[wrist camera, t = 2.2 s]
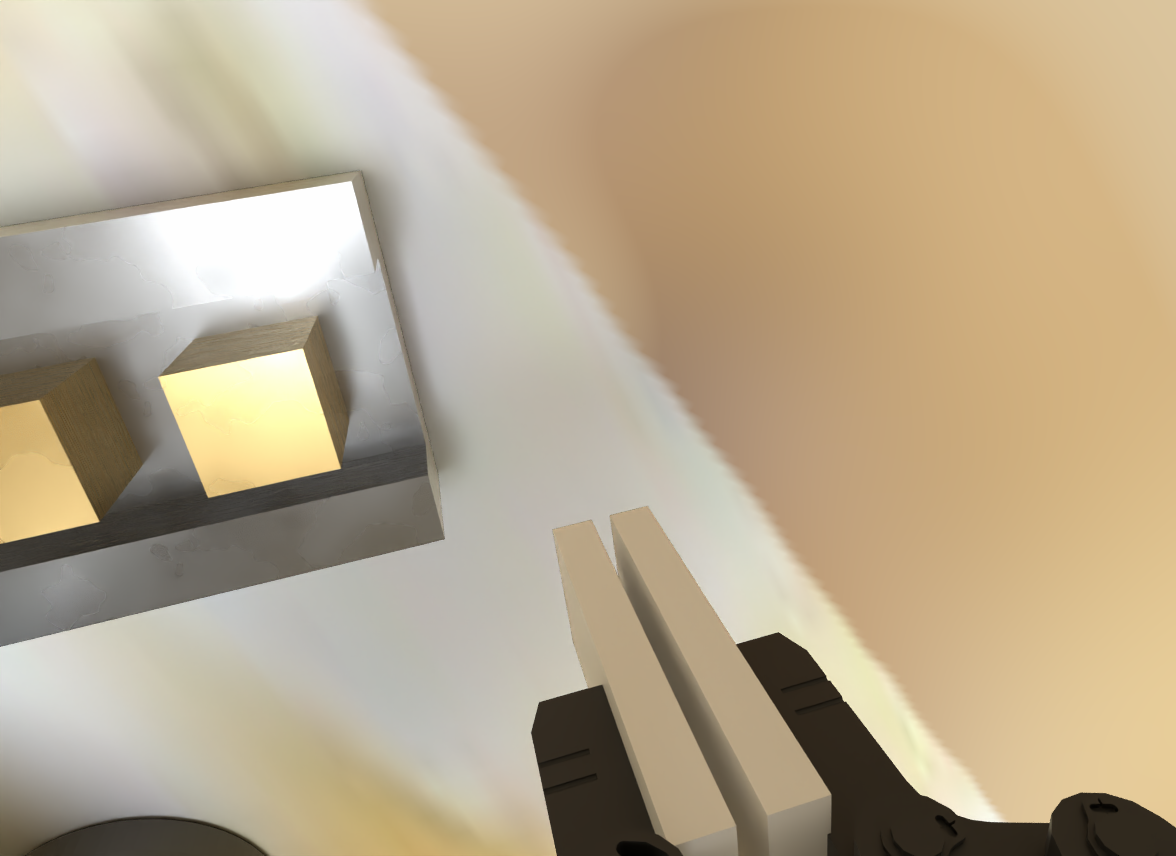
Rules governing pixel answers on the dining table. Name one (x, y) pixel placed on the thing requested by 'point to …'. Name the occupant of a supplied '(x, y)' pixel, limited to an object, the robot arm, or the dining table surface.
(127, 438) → the brass block
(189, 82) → the dining table surface
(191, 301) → the slot plate
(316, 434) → the brass block
